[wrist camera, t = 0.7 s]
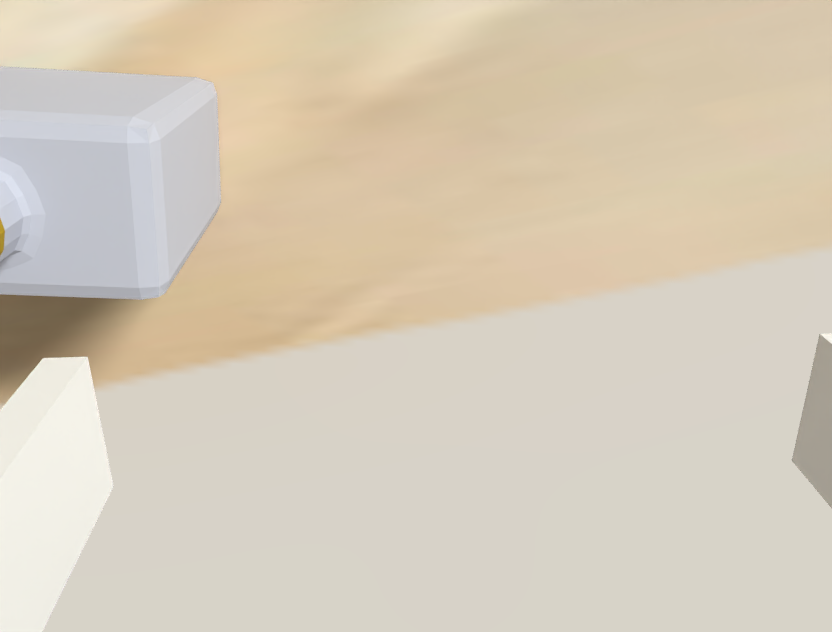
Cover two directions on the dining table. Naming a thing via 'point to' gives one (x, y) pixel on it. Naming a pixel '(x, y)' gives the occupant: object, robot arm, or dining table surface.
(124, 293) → the soap bottle
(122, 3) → the dining table surface
